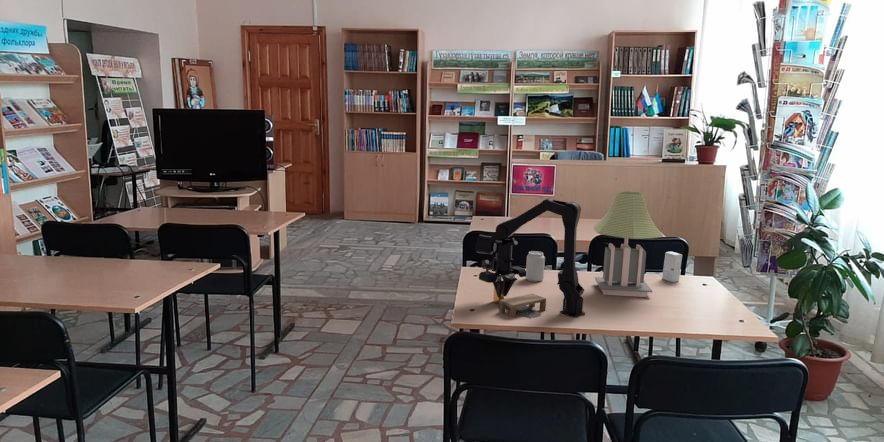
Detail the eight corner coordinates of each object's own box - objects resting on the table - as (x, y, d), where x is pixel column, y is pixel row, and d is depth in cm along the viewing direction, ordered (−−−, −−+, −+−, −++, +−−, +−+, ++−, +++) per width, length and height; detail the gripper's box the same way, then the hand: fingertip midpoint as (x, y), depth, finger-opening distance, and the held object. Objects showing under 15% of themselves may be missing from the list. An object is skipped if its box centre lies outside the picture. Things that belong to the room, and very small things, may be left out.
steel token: (540, 316, 224) (541, 313, 224) (530, 318, 221) (530, 316, 221) (531, 312, 228) (531, 309, 228) (520, 314, 225) (520, 312, 225)
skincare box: (661, 278, 279) (664, 251, 277) (668, 277, 281) (671, 251, 279) (672, 282, 274) (675, 254, 272) (680, 281, 276) (682, 254, 274)
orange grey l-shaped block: (532, 311, 228) (533, 289, 227) (519, 314, 224) (521, 292, 223) (501, 299, 241) (503, 279, 240) (489, 301, 238) (490, 281, 236)
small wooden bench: (545, 310, 230) (546, 298, 229) (512, 317, 220) (513, 305, 219) (531, 305, 235) (532, 293, 234) (499, 312, 226) (499, 300, 225)
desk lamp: (646, 283, 271) (655, 189, 264) (662, 303, 243) (672, 199, 236) (585, 279, 273) (592, 187, 266) (594, 299, 246) (602, 196, 239)
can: (523, 280, 269) (524, 252, 267) (529, 276, 276) (530, 249, 273) (539, 283, 266) (541, 255, 263) (545, 279, 272) (547, 251, 270)
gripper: (508, 248, 245) (506, 287, 248) (470, 254, 235) (468, 294, 237) (528, 254, 237) (526, 295, 239) (489, 260, 226) (487, 302, 229)
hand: (501, 296), depth 236 cm, fingers closed on orange grey l-shaped block, 2 cm apart
